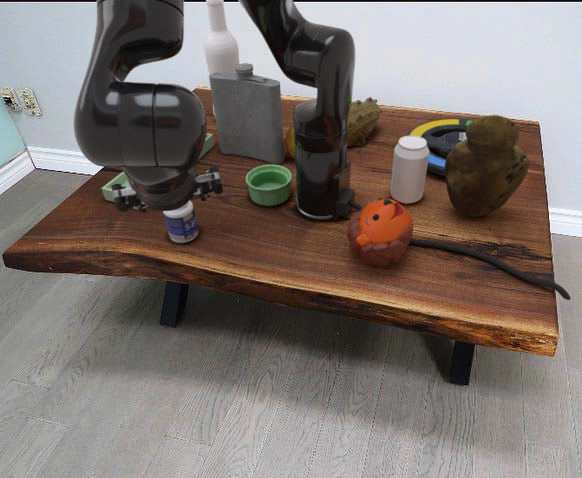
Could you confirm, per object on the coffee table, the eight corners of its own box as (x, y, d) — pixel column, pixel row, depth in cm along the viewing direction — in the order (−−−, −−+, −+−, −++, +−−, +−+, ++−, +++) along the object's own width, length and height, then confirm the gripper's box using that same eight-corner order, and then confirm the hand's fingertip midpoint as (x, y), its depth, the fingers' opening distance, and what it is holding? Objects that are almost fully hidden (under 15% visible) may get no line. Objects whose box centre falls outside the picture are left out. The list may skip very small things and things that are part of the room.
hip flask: (217, 152, 114) (204, 65, 102) (226, 144, 117) (214, 58, 104) (281, 165, 109) (274, 74, 96) (288, 156, 112) (283, 66, 99)
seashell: (385, 131, 121) (388, 89, 115) (365, 154, 110) (367, 109, 105) (342, 124, 125) (343, 84, 120) (318, 146, 114) (319, 102, 109)
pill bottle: (192, 245, 89) (183, 204, 84) (165, 242, 90) (154, 202, 85) (202, 226, 93) (194, 186, 88) (176, 224, 94) (166, 184, 89)
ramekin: (273, 213, 95) (272, 194, 93) (238, 198, 100) (235, 180, 97) (301, 191, 101) (301, 172, 98) (267, 178, 105) (265, 159, 102)
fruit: (304, 142, 116) (303, 110, 111) (336, 154, 111) (337, 120, 106) (277, 160, 110) (275, 127, 105) (310, 173, 106) (309, 139, 101)
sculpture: (434, 222, 91) (451, 120, 78) (440, 196, 97) (457, 98, 84) (512, 235, 87) (544, 130, 75) (513, 207, 93) (543, 106, 81)
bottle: (246, 109, 131) (232, -17, 112) (246, 124, 125) (231, -7, 105) (215, 112, 131) (196, -14, 112) (213, 126, 124) (192, -5, 105)
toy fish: (406, 282, 80) (414, 226, 72) (340, 273, 82) (342, 217, 75) (411, 235, 88) (419, 181, 81) (352, 228, 91) (354, 174, 84)
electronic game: (411, 125, 120) (413, 106, 117) (514, 137, 113) (519, 117, 110) (394, 176, 103) (396, 155, 100) (513, 192, 97) (519, 171, 94)
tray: (214, 145, 117) (213, 134, 115) (141, 209, 98) (138, 197, 97) (182, 138, 120) (180, 127, 119) (105, 199, 102) (101, 188, 100)
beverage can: (427, 193, 98) (435, 138, 90) (414, 210, 94) (422, 153, 87) (398, 184, 101) (403, 130, 93) (384, 200, 97) (389, 145, 89)
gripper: (216, 132, 60) (215, 167, 76) (93, 152, 58) (119, 184, 74) (229, 193, 59) (226, 215, 75) (105, 216, 57) (129, 234, 73)
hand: (173, 200), depth 74 cm, fingers open, 8 cm apart
